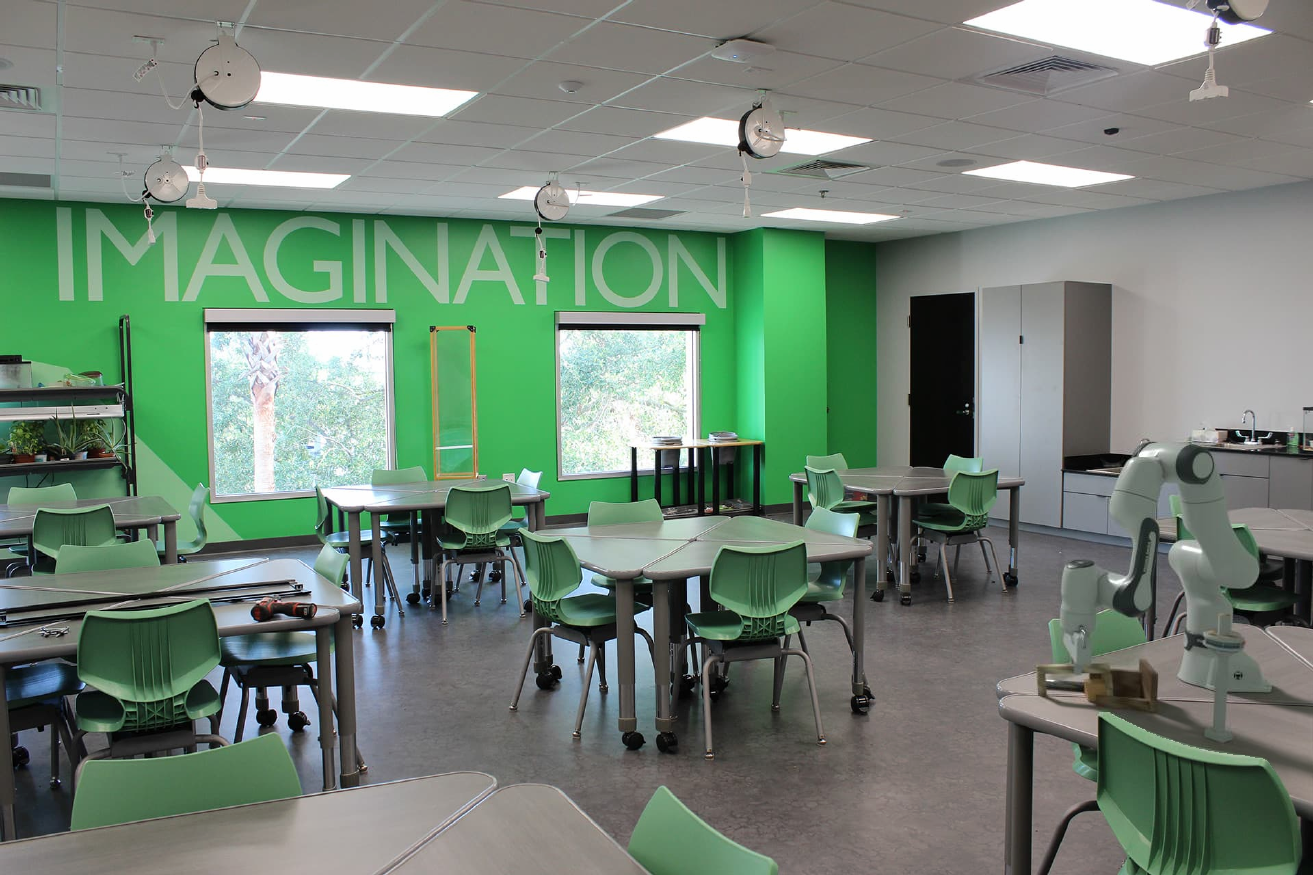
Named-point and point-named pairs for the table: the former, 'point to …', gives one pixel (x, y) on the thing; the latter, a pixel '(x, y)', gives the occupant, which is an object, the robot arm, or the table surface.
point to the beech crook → (1068, 669)
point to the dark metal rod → (1065, 685)
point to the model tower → (1221, 672)
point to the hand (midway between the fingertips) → (1076, 672)
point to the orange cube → (1094, 688)
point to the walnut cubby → (1131, 688)
